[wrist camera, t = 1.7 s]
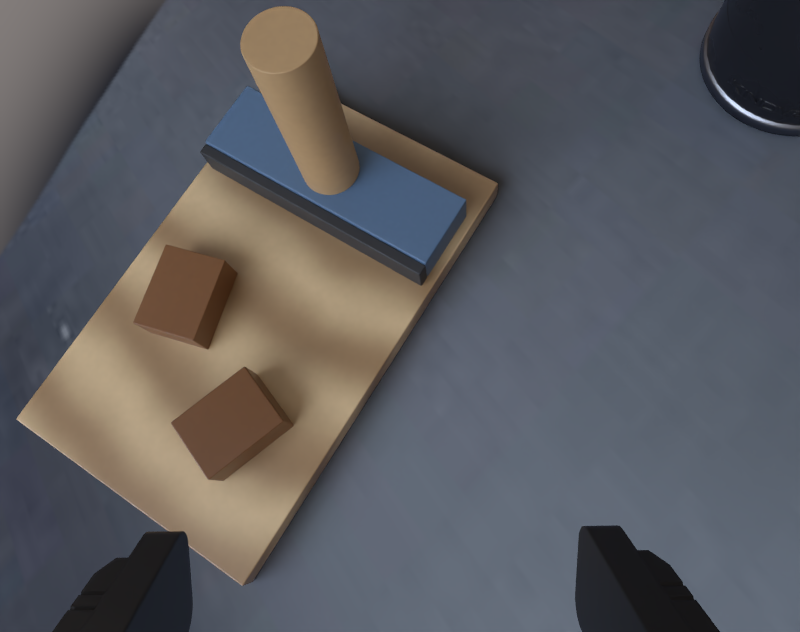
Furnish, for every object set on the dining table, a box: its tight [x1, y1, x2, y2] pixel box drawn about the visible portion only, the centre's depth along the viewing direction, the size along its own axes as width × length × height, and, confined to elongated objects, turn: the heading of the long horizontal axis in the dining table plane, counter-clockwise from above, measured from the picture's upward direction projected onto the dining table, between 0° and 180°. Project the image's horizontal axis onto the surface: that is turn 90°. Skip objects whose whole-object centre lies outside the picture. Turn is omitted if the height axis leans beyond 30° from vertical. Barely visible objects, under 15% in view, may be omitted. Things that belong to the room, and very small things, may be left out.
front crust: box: [171, 367, 294, 481], centre depth 32 cm, size 4×3×2 cm
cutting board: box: [17, 104, 498, 586], centre depth 35 cm, size 24×15×2 cm, turn 148°
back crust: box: [133, 244, 238, 350], centre depth 34 cm, size 4×3×2 cm
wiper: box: [200, 6, 466, 286], centre depth 30 cm, size 5×14×12 cm, turn 58°
